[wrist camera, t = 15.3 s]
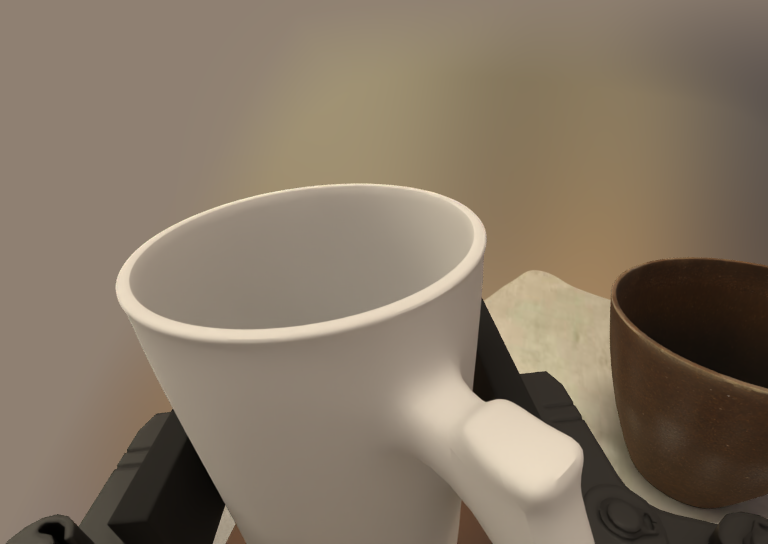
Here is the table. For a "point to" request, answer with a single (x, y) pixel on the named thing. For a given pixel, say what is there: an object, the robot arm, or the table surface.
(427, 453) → the mug
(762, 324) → the flower pot
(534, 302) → the table surface
